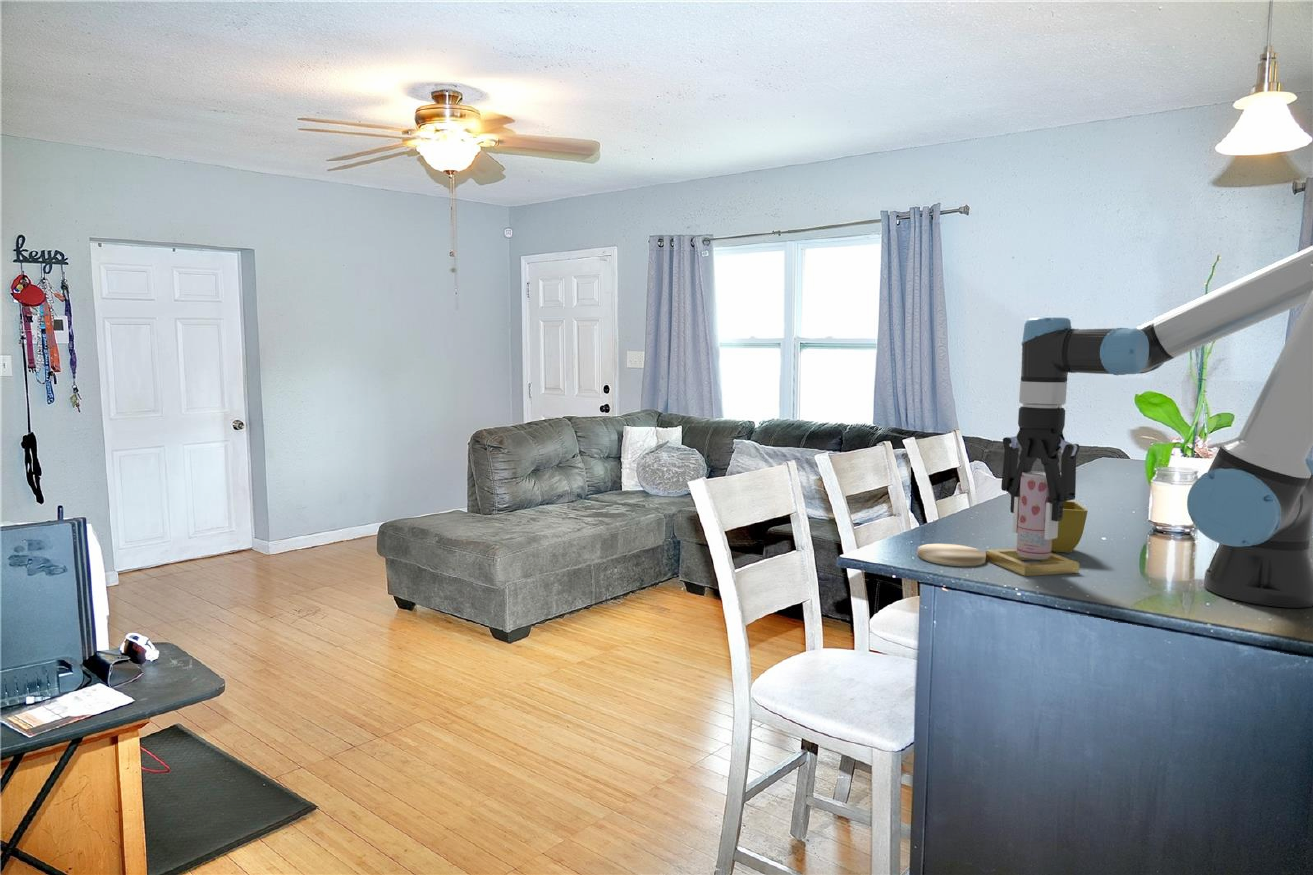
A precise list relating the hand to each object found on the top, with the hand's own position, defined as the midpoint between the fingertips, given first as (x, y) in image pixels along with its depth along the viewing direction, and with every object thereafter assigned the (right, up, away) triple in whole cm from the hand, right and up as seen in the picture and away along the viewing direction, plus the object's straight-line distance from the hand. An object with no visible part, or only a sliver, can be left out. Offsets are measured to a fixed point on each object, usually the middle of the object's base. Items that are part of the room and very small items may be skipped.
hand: (1034, 534), depth 153 cm
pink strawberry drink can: (0, -4, 0) cm, 4 cm away
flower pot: (+10, -5, +14) cm, 18 cm away
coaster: (-13, -5, +6) cm, 15 cm away
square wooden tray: (0, -6, +1) cm, 6 cm away
